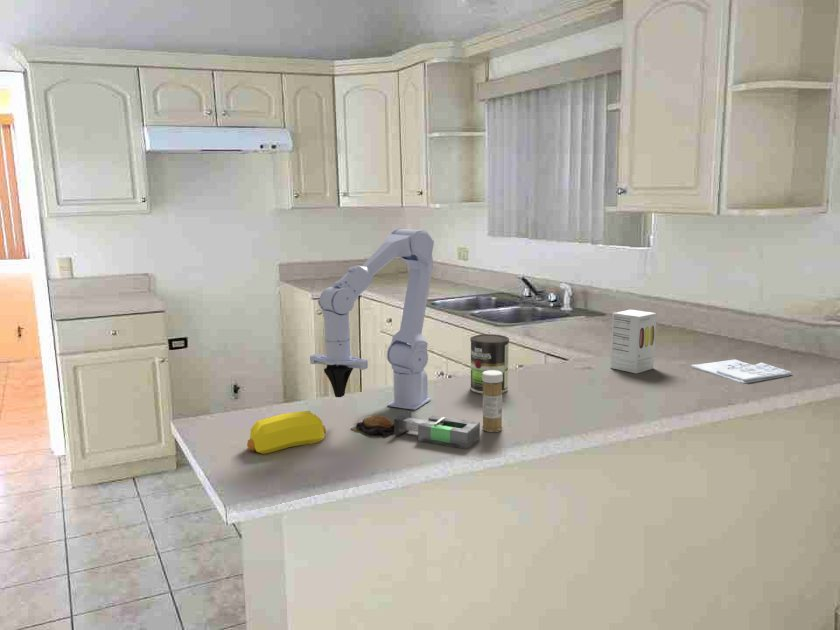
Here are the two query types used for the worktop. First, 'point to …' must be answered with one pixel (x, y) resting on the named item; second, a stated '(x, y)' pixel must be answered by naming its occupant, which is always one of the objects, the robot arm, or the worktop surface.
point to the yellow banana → (285, 432)
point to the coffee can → (488, 359)
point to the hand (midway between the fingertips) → (339, 396)
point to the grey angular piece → (410, 423)
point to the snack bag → (742, 371)
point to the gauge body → (450, 432)
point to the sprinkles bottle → (492, 400)
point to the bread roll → (375, 426)
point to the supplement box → (633, 341)
